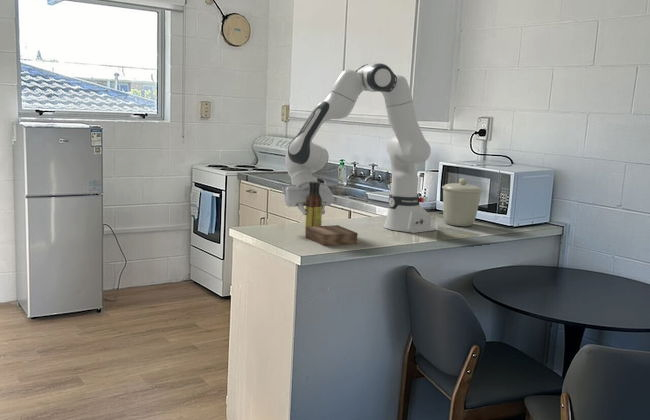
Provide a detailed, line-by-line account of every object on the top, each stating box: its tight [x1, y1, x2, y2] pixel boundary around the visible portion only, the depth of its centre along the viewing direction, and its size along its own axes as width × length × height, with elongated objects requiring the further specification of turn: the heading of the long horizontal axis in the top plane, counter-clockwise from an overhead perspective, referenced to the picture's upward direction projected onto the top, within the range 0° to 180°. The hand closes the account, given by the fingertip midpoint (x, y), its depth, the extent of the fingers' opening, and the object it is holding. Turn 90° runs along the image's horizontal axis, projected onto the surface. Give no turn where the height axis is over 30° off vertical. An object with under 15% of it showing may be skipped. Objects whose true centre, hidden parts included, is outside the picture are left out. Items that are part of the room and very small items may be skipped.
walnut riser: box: [304, 224, 359, 247], centre depth 238 cm, size 14×14×4 cm
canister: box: [441, 177, 484, 227], centre depth 287 cm, size 18×18×21 cm
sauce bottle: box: [304, 181, 323, 231], centre depth 248 cm, size 7×6×20 cm
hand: (314, 213), depth 248 cm, fingers closed on sauce bottle, 6 cm apart
